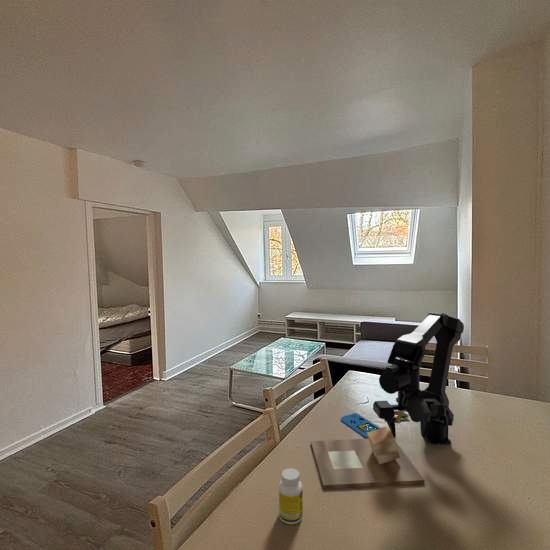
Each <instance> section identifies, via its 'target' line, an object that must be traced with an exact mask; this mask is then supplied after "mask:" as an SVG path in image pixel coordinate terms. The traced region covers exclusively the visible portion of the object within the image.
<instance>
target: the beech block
mask: <svg viewBox="0 0 550 550" xmlns="http://www.w3.org/2000/svg"><path fill="white" fill-rule="evenodd" d="M367 436H368V439H369V442H370V446H371V449H372V452H373V454H374V455H375V457H376V459H377V461H378V462H379V464H383V463H386V462H389V461H392V460H395V459H398V458H400V455H399V451H398V448H397V444H398V443H397V444H396V442H397V441H396V439H395V438H394V436H393V435H392V434H391V432H390V429H389V427H387V426H383V427H380V429H377V430H374V431H371V432H368V433H367Z"/></svg>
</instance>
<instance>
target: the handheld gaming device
mask: <svg viewBox="0 0 550 550" xmlns="http://www.w3.org/2000/svg"><path fill="white" fill-rule="evenodd" d="M340 421H341V423H343V424H344V423H345V424H344V425H346V426H348V428H350V429H351V430H353V431H354V432H356V433H357V434H359V435H360V436H361V435H362V436H361V437H363V439H368V436H367V433H368V432H371V431H374V430H377V429H380V428H381V427H380V426H378V425H376V424H375V423H373V422H372V421H370V420H368V419H367V418H365V417H364V416H362V415H360V414H359V413H357V412H353V413H350V414H347V415H343V416H341V418H340ZM366 424H367V425H366ZM367 426H368V427H367ZM369 427H372V428H369ZM367 428H368V430H367ZM375 428H376V429H375Z"/></svg>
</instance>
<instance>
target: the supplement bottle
mask: <svg viewBox="0 0 550 550" xmlns="http://www.w3.org/2000/svg"><path fill="white" fill-rule="evenodd" d="M303 496H304V495H303V483H302V482H301V481H300V472H299V471H298V470H297V469H295V468H292V467H290V468H285V469H284V470H283V471H282V472H281V480H279V484H278V517H279V520H280V521H281V522H283V523H284V524H287V525H296V524H298V523H300V521H302V519H303V517H304V516H303V513H304V511H303V509H304V508H303V505H304V504H303V502H304V501H303Z"/></svg>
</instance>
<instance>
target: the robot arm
mask: <svg viewBox="0 0 550 550" xmlns="http://www.w3.org/2000/svg"><path fill="white" fill-rule="evenodd" d="M464 329H465V325H464V323H463V322H462V321H461V320H460V318H455V317H453V316H450V315H448V314H446V313H444V312H437V311H429V312H428V313H427V315H426V318H424V320H423V321H421V323H420V324H418V326H417V327H416V328H415V329H414V330H413V331H412V332H411V333H407V334H403V335H401V336H400V337H398V338H397V339H396V340H395V342H394V343H393V345H392V349H391V351H390V354H389V355H388V359H387V364H389V365H387V366H386V367H385V371H383V372H382V373H381V374H380V375H379V378H378V381H379V382H378V383H379V386H380V388H381V389H382V390H383V391H384V392H386V393H387V394H390V395H391V394H396V393H397V397H396V398H395V402H396V403H397V404H390V403H389V401H388V400H375V401H374V402H373V404H372V410H373V411H374V413H375V415H377V418H379V419H381V420H384V422H385V421H386V424H387V426H388V430H389V431H390V432H391V434H392V435H393V436H394V438H395V440H396V439H397V438H396V437H397V433H396V422H397V421H396V418H395V417H396V416H394V412H404V413H407V414H408V416H409V418H410V421H412V422H414V423H419V422H420V423H419V424H420V435H421V437H422V438H423V439H426V440H427V442H429V443H430V445H439V444H440V445H442V444H443V445H444V444H446V445H447V444H452V441H451V439H449V426H450V427H452V426H453V423H454V420H455V419H454V417H455V416H454V415H455V414H454V413H453V412H452V409H450V400H449V398H448V395H447V393H446V388H447V383H448V382H447V381H448V376H449V370H450V365H451V360H452V354H453V348H454V346H455V345H456V344H457V343H458V342H459V341H460V340H461V337H462V334H463V333H464ZM433 338H435V341H436V345H435V350H434V355H433V360H432V365H431V371H430V377H429V380H428V381H429V382H428V386H427V387H426V388H425V389H424V390H423V389H420V380H421V378H420V377H421V376H420V375H421V374H420V369H421V368H420V367H422V366H423V363H422V361H423V359H424V357H425V355H426V353H427V351H426V346H427V344H429V342H430V341H431V340H432V339H433Z"/></svg>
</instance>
